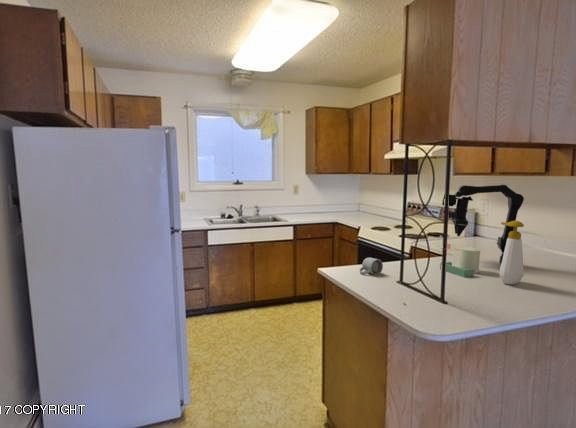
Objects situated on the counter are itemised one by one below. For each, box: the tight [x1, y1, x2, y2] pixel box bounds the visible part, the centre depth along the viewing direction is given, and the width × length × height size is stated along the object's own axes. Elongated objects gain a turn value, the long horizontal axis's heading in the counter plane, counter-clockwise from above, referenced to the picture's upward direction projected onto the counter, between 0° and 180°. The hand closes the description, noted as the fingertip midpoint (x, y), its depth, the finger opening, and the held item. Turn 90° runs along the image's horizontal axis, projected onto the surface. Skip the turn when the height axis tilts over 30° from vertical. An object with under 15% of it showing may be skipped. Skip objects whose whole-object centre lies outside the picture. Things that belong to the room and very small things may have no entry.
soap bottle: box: [499, 220, 525, 286], centre depth 162 cm, size 13×10×29 cm
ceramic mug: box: [359, 257, 384, 276], centre depth 177 cm, size 11×8×8 cm
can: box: [459, 246, 481, 274], centre depth 182 cm, size 9×9×12 cm
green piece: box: [439, 243, 475, 278], centre depth 178 cm, size 6×15×14 cm, turn 22°
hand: (457, 234), depth 200 cm, fingers open, 9 cm apart
